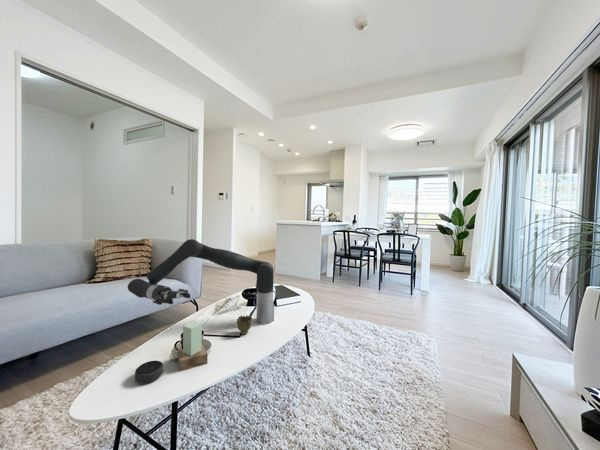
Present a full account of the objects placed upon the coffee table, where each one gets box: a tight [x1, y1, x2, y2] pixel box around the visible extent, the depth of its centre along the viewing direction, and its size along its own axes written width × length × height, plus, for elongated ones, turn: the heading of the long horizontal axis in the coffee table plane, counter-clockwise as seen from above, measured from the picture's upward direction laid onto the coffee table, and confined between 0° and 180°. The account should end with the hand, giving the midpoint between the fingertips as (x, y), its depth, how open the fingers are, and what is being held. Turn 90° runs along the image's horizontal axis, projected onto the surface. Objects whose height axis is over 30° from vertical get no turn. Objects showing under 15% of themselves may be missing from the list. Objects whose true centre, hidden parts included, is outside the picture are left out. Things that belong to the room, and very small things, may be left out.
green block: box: [182, 320, 203, 356], centre depth 100 cm, size 5×5×11 cm
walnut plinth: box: [177, 342, 208, 372], centre depth 100 cm, size 10×10×4 cm
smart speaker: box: [134, 360, 164, 385], centre depth 90 cm, size 9×9×4 cm
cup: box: [236, 315, 253, 336], centre depth 124 cm, size 8×7×8 cm
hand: (181, 298), depth 109 cm, fingers open, 8 cm apart
